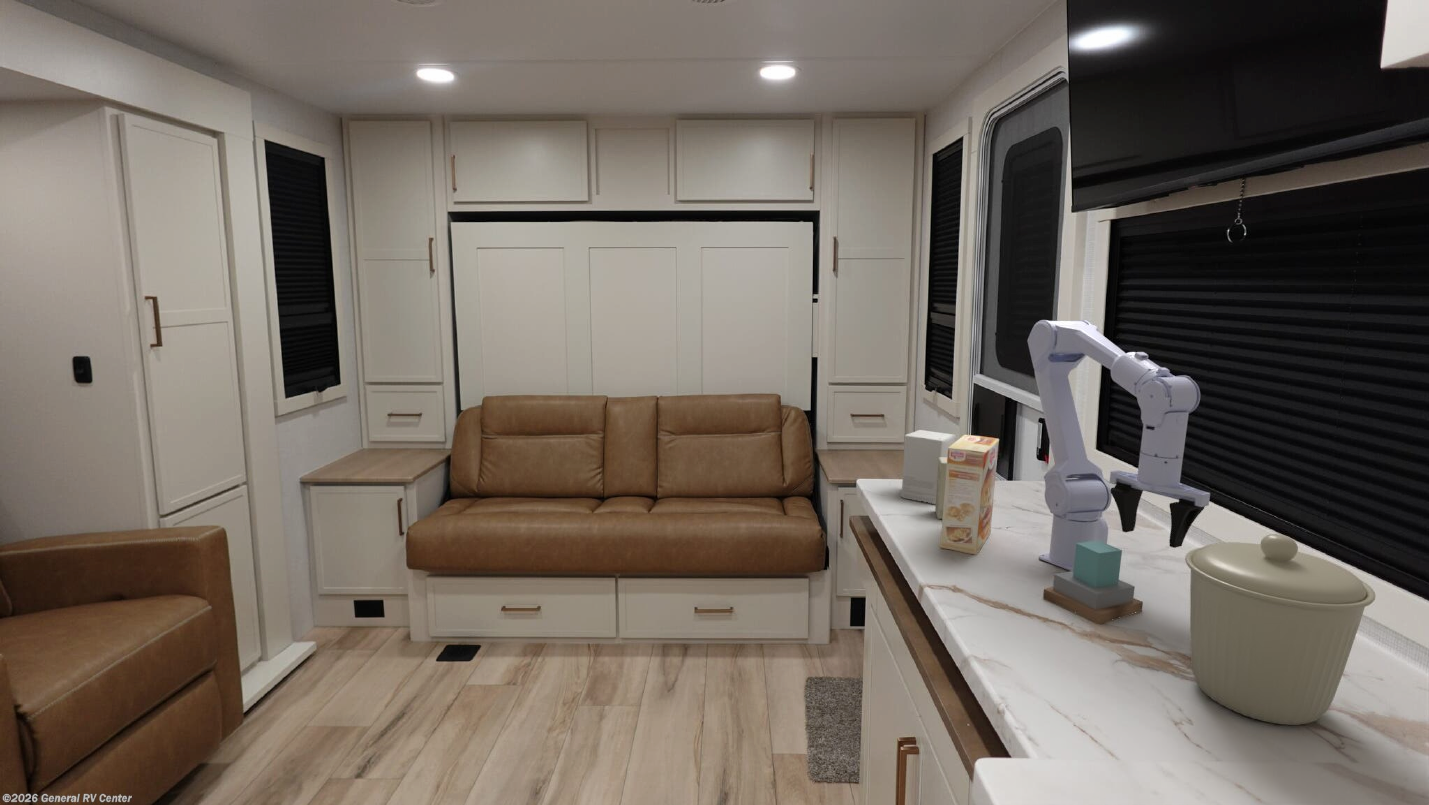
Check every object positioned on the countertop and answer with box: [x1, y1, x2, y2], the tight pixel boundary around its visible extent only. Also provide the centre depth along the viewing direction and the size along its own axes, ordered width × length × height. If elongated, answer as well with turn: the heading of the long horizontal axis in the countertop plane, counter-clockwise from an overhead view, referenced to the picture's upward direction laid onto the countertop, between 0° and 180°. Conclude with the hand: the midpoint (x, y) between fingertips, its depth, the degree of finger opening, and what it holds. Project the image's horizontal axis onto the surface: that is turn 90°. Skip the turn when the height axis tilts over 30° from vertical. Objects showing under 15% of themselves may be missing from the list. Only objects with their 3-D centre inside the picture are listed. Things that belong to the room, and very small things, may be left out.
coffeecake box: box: [939, 434, 1000, 556], centre depth 145 cm, size 15×7×20 cm, turn 150°
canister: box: [1184, 533, 1376, 726], centre depth 90 cm, size 18×18×21 cm
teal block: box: [1073, 541, 1123, 588], centre depth 118 cm, size 4×4×6 cm
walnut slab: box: [1042, 586, 1144, 625], centre depth 119 cm, size 10×10×2 cm
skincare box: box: [934, 457, 947, 520], centre depth 161 cm, size 6×4×12 cm
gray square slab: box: [1052, 570, 1136, 610], centre depth 118 cm, size 8×8×2 cm
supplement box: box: [901, 429, 957, 505], centre depth 174 cm, size 9×9×15 cm
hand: (1151, 538), depth 119 cm, fingers open, 7 cm apart
